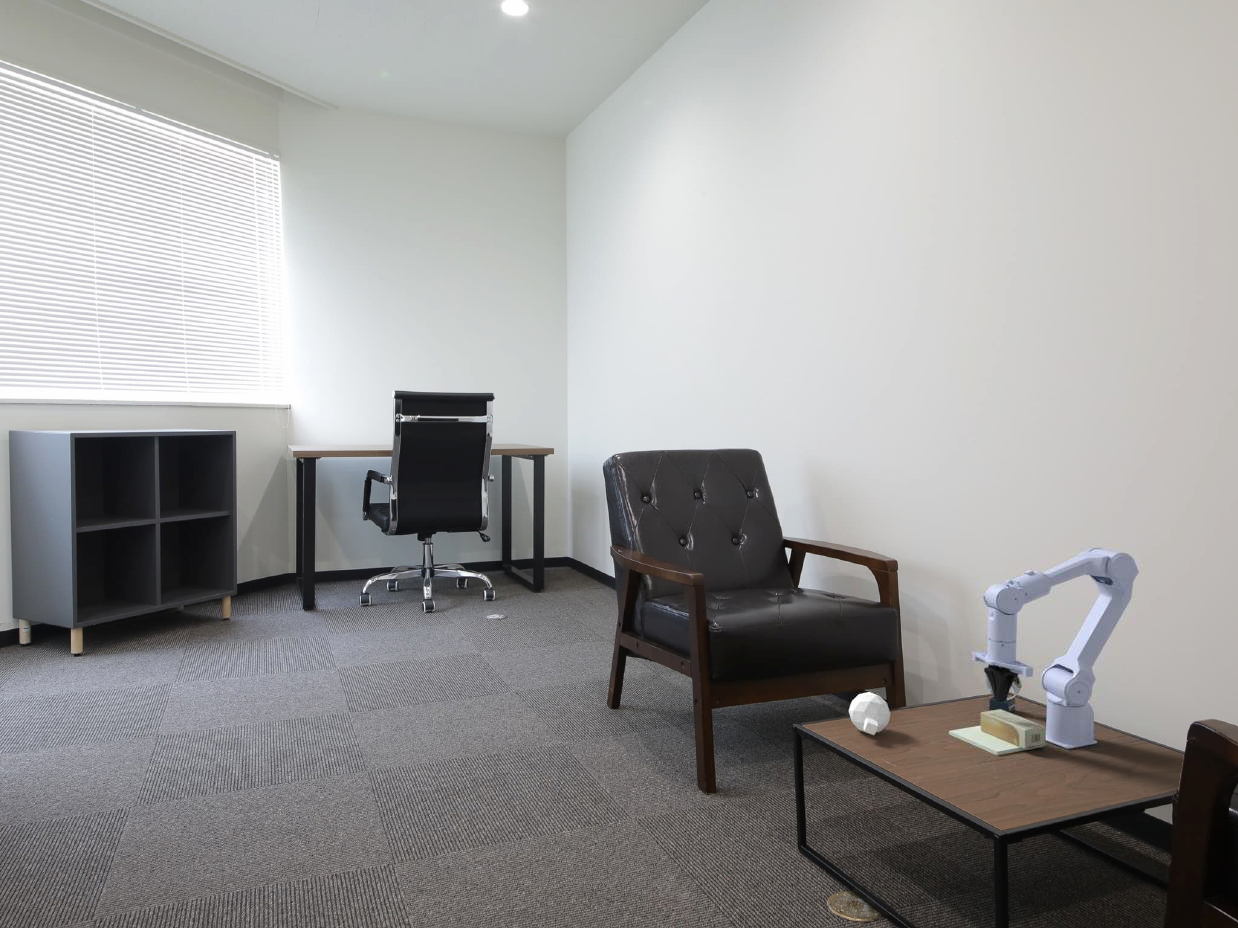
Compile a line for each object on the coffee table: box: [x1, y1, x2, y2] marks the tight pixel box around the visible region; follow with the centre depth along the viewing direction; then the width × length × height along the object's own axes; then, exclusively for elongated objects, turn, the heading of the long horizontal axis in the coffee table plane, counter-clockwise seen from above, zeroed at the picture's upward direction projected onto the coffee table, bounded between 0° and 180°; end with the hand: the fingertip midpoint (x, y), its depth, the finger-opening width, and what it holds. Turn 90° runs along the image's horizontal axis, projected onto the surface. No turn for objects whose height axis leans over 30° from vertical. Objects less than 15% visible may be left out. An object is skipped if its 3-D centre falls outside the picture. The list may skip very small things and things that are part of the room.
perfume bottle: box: [848, 691, 891, 736], centre depth 182 cm, size 9×9×12 cm
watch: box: [984, 674, 1023, 714], centre depth 199 cm, size 6×8×11 cm
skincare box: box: [980, 709, 1047, 750], centre depth 178 cm, size 6×4×12 cm
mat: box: [948, 725, 1045, 756], centre depth 179 cm, size 14×13×1 cm
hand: (1000, 700), depth 178 cm, fingers closed
